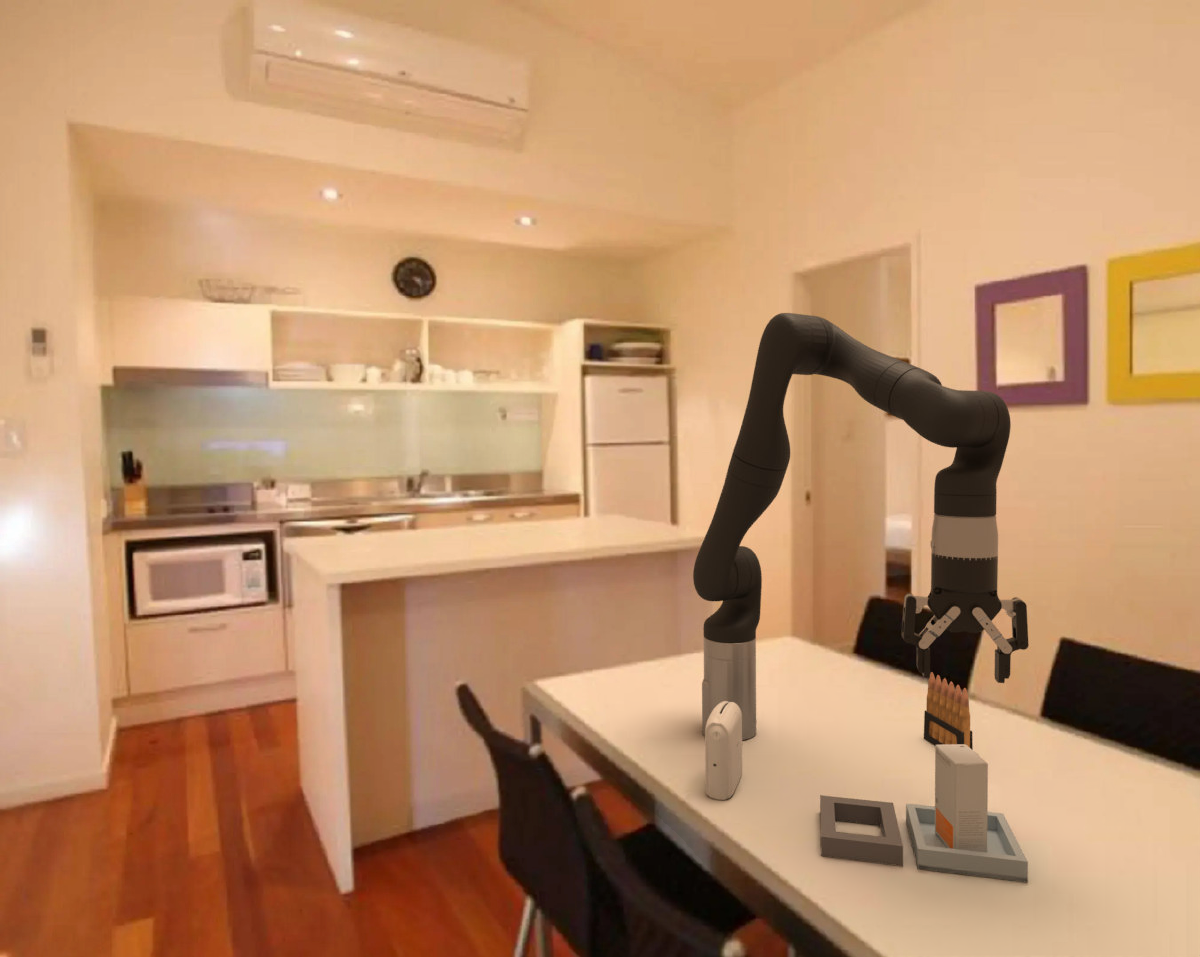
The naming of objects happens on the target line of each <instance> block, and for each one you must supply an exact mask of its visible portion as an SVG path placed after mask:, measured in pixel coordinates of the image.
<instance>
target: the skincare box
mask: <svg viewBox="0 0 1200 957" xmlns="http://www.w3.org/2000/svg"><path fill="white" fill-rule="evenodd" d="M934 747H935V748H934V749H935V750H934V752H935V753H934V754H935V755H934V756H935V758H934V759H935V760H934V763H935V764H934V767H935V768H934V780H935V781H934V806H935V833H936V834H937V835H938V836H939V838H940V839H941V840H942V841H943V842H944V844H945V845H946V846H947V847H948V848H951V849H959V850H968V851H977V852H985V853H987V812H988V809H989V808H988V806H989V805H988V801H989V800H988V797H989V796H988V795H989V794H988V792H989V791H988V789H989V788H988V787H989V786H988V783H989V780H988V779H989V771H988V770H989V768H988V767H989V764H988V762H987V761H985V759H983V758H982V757H981V756H980V755H979V753H977V752H976V751H974V750H972V749H971V748H969V747H968V746H967V745H965V744H943V745H935V746H934Z"/></svg>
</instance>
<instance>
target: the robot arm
mask: <svg viewBox="0 0 1200 957" xmlns="http://www.w3.org/2000/svg"><path fill="white" fill-rule="evenodd" d="M793 375H799V376H802V375H803V376H813V375H818V376H825V377H829V378H833V379H837V380H840V381H842V382H845V383H846V384H848V385H849V386H851V387H852V388H853V389H854V390H855V392H856V393H857V395H859V396H860V397H861V398H862V399H863V400H864V401H866V402H867V403H868V404H870V405H872V406H874V407H876V408H877V409H879V410H881V411H883V412H885V413H887V414H890V415H891V416H893V417H895V418H897V419H900V420H902V421H903V422H905V424H906V425H907V426H908V427H910V428H911V429H912V430H913V431H914V432H916V433H917V434H918V435H919V436H921V437H922V438H923V439H925V440H927V441H928V442H930V443H933V444H935V445H938V446H942V447H944V448H953V449H954V448H956V450H955V454H954V458H953V461H952V463H951V465H949V466H947V467H944V468H942V469H941V470H939V471H938V472H937V473H936V475H935V479H934V493H933V495H934V496H933V521H932V527H931V541H930V549H931V553H930V554H931V556H930V557H931V561H930V562H931V564H930V568H931V570H930V592H929V594H928V596H922V595H921V596H920V595H919V596H918V595H915V594H913V593H912V592H907V593H905V594H904V595H903V608H902V621H901V632H900V633H901V638H902V639H903V641H904V642H905V643H906V644H911V645H913V646H915V648H916V656H915V658H916V663H915V664H916V667H917V670H918V673H920V674H921V675H922V677H923V679H924V678H925V679H929V678H930V673H931V649H930V646H931V644H933V643H934V641H935V640H936V639H937V638H939V637H940V636H941V635H942V634H943V633H944V631H946V630H947V631H950V633H961V632H967V633H970V634H979V633H981V632H983V631H985V632H986V633H987V635H988V636H989V638H991V640H992V641H993V642H994V644H995V645H996V646H997V648H996V649H994V680H995V681H996V683H998V684H999V683H1000V684H1005V680H1008V679H1009V678H1010V676H1011V663H1012V662H1011V657H1012V656H1011V655H1012V653H1014V652H1016V651H1019V650H1023V651H1025V650H1027V649H1028V648H1029V630H1028V628H1029V626H1028V609H1027V608H1028V606H1027V604H1026V603H1025V601H1023V600H1022V599H1021V598H1019V597H1017V596H1014V597H1013V598H1011V599H1000V598H999V595H998V578H999V576H998V574H999V572H998V571H999V564H998V563H999V529H998V523H997V482H998V478H999V476H1000V475H999V474H1000V472H1001V471H1002V470H1001V469H1002V466H1003V463H1004V458H1005V454H1006V452H1007V448H1008V444H1009V439H1010V434H1011V424H1012V423H1011V415H1010V411H1009V407H1008V406H1007V404H1006V402H1005V401H1004V399H1003V398H1001V396H999V394H997V393H995V392H992V391H988V390H968V389H967V390H961V389H954V388H950V387H946V386H945V385H944V386H943V384H942V382H941V380H940V379H939V378H938V377H937V376H936V375H935V374H933V373H931V372H929V371H928V370H925V369H923V368H920V367H918V366H915V365H914V364H911V363H909V362H906V361H903V360H901V359H898V358H896V357H893V356H891V355H888V354H885V353H883V352H881V351H879V350H876V349H874V348H872V347H870V346H868V345H866V344H864V343H862V342H861V341H859V340H857V339H856V338H854V337H853V336H851V335H850V334H849V333H847V332H846V331H844V330H843V329H841V328H840V327H839V326H837V325H836V324H834V323H833V322H831V321H829V320H827V319H826V318H824V317H822V316H817V315H810V314H803V313H802V314H801V313H793V312H792V313H791V312H781V313H778V314H776V315H774V316H773V317H771V319H770V320H769V321H768V323H767V324H766V325H765V328H764V331H763V332H762V335H761V337H760V341H759V345H758V349H757V355H756V359H755V365H754V370H753V375H752V381H751V385H750V390H749V394H748V400H747V403H746V406H745V410H744V415H743V418H742V422H741V424H740V425H741V426H740V429H739V433H738V435H737V439H736V441H735V445H734V447H733V451H732V454H731V458H730V461H729V463H728V468H727V471H726V475H725V480H724V482H723V485H722V486H723V487H722V489H721V492H720V495H719V498H718V501H717V505H716V508H715V511H714V513H713V515H712V516H713V517H712V518H711V522H710V525H709V526H708V529H707V532H706V533H705V536H704V539H703V540H702V543H701V545H700V548H699V551H698V553H697V555H696V558H695V560H694V561H695V562H694V565H693V570H692V571H693V572H692V573H693V574H692V580H693V586H694V589H695V591H696V593H697V595H698V596H699V597H700V598H701V599H703V600H704V601H707V602H722V603H721V604H720V607H719V608H718V609H717V610H716V611H715V612H713V613H712V614H711V615H710V616H708V617H707V618H706V619H705V620H704V622H703V628H702V629H703V679H702V681H701V704H702V706H701V708H702V709H701V710H702V711H701V713H702V714H701V717H702V718H701V719H702V723H701V725H702V727H701V728H702V731H701V732H702V735H703V736H705V728H706V723H707V720H708V718H709V716H710V714H711V712H712V711H713V709H714V708H715V707H716V706H717V705H718V704H719V703H721V702H724V701H728V702H734V703H736V704H737V705H738V706H739V708H740V710H741V713H742V741H744V740H747V739H748V740H749V739H751V738H753V737H754V736H756V735H757V636H756V635H757V634H756V633H757V628H758V626H759V623H760V619H761V609H762V608H761V603H762V589H763V588H762V586H763V585H762V582H763V577H762V568H761V567H762V566H761V564H760V561H759V558H758V556H757V555H756V553H755V552H754V551H753V549H751V548H749V547H747V546H743V545H742V546H741V543H742V541H743V539H744V538H745V535H746V534H747V532H748V531H749V529H750V528H751V527H752V526H753V525H754V524H755V523H756V521H757V520H759V518H760V517H761V516H762V515H763V514H764V513H765V511H766V510H767V509H768V508H769V507H770V506H771V504H772V503H773V501H774V500H775V499H776V497H777V496H778V495H779V492H780V490H781V487H782V485H783V481H784V478H785V476H786V473H787V469H788V468H789V464H790V460H791V444H790V438H789V434H788V429H787V427H786V426H787V425H786V422H785V417H784V404H785V400H786V395H787V392H788V388H789V384H790V382H791V379H792V377H793ZM925 606H927V607H928V608H929V610H930V611H931V612H932V613H933V617H931V619H930V620H929V621H928V622H927V623H926V625H925V627H924V628H923V629H922V630H921V631H920V632H919V633H916V632H915V624H916V614H920V613H921V612H922V610H923V607H925ZM1002 610H1004V611H1005V613H1006V615H1007V616H1008V617H1009V618H1011V632H1012V633H1011V634H1012V635H1011V636H1012V637H1009V638H1006V637H1004V636H1003V634H1002V633H1001V631H1000V630H999V629H998V628H997V627H996V625H995V624H994V622H992V621H993V620H994V619H995V618H996V616H997V615H999V613H1000V611H1002Z"/></svg>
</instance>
